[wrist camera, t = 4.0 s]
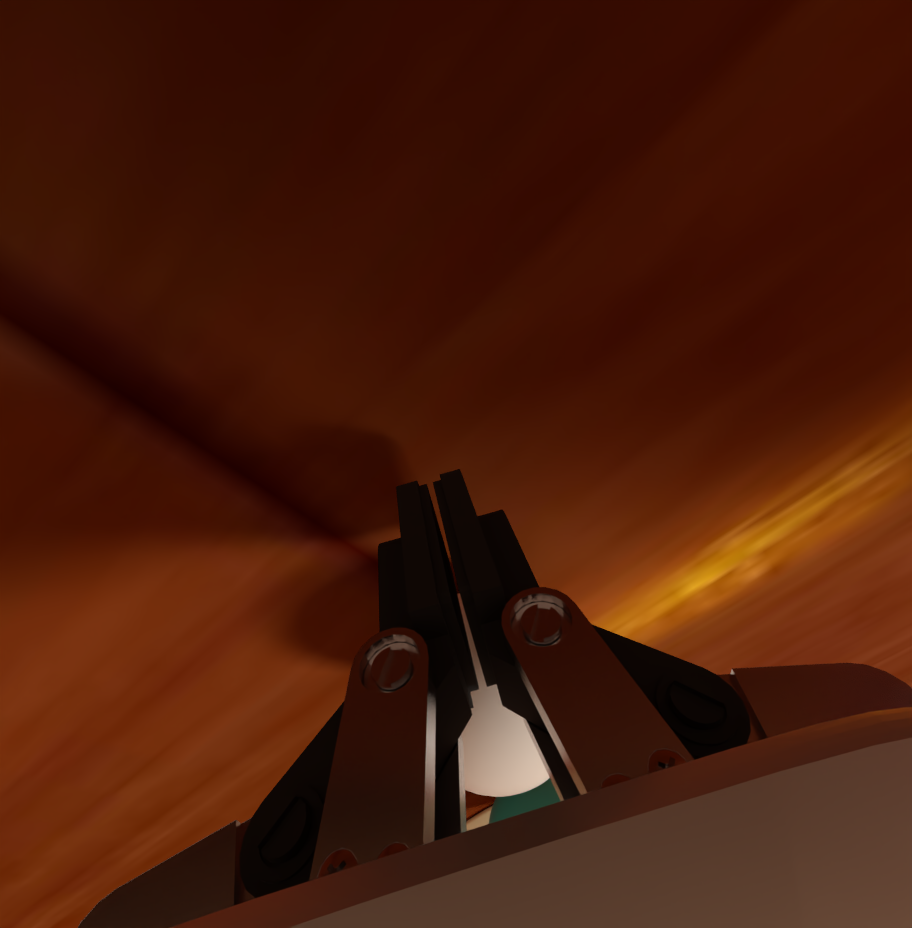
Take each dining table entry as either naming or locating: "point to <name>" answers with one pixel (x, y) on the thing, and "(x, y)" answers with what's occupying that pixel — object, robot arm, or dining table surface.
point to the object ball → (523, 802)
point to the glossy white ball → (497, 742)
